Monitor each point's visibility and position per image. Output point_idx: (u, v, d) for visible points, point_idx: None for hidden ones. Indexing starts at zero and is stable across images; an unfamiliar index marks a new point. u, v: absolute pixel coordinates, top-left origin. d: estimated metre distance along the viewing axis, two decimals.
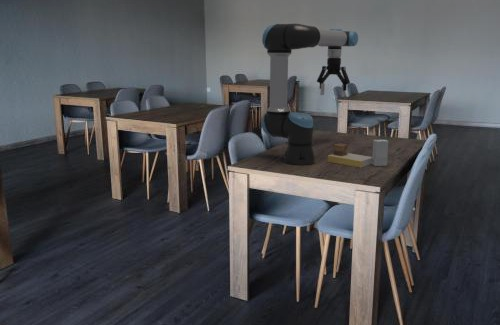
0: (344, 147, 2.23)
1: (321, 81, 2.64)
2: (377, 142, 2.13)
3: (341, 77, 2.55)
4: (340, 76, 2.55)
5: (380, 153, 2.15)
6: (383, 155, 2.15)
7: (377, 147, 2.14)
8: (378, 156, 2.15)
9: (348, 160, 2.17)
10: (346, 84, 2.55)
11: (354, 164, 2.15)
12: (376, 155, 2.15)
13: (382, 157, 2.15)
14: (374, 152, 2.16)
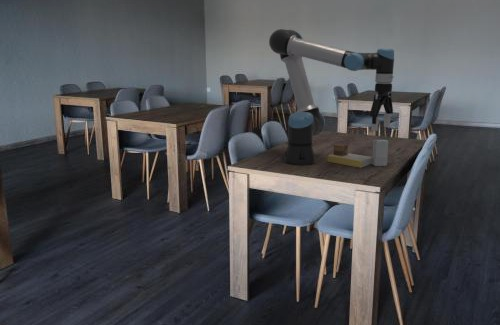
0: (344, 147, 2.23)
1: None
2: (377, 142, 2.13)
3: None
4: None
5: (380, 153, 2.15)
6: (383, 155, 2.15)
7: (377, 147, 2.14)
8: (378, 156, 2.15)
9: (348, 160, 2.17)
10: (374, 116, 2.08)
11: (354, 164, 2.15)
12: (376, 155, 2.15)
13: (382, 157, 2.15)
14: (374, 152, 2.16)
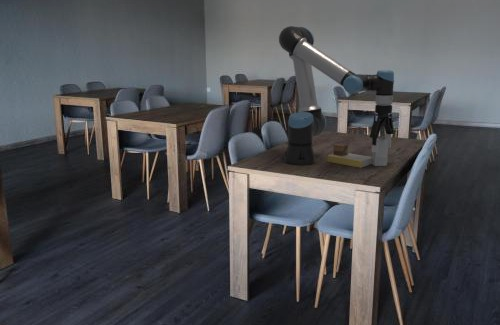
0: (344, 147, 2.23)
1: (386, 131, 2.20)
2: None
3: None
4: None
5: (380, 153, 2.15)
6: (383, 155, 2.15)
7: None
8: (378, 156, 2.15)
9: (348, 160, 2.17)
10: (373, 138, 2.08)
11: (354, 164, 2.15)
12: (376, 155, 2.15)
13: (382, 157, 2.15)
14: (374, 152, 2.16)
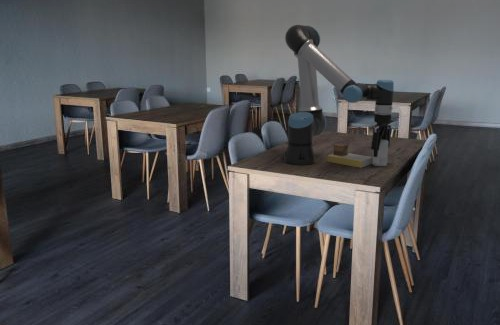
0: (344, 147, 2.23)
1: None
2: None
3: None
4: None
5: (380, 153, 2.15)
6: (383, 155, 2.15)
7: None
8: None
9: (348, 160, 2.17)
10: (375, 149, 2.12)
11: (354, 164, 2.15)
12: None
13: (382, 157, 2.15)
14: None
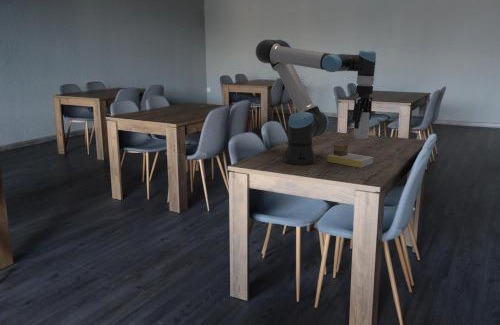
0: (344, 147, 2.23)
1: None
2: None
3: None
4: None
5: (361, 125, 2.14)
6: (364, 127, 2.15)
7: None
8: None
9: (348, 160, 2.17)
10: (356, 121, 2.11)
11: (354, 164, 2.15)
12: None
13: (363, 130, 2.15)
14: None
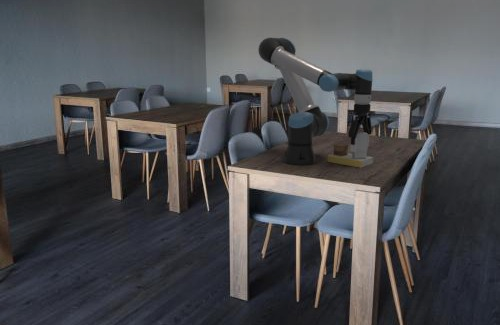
0: (344, 147, 2.23)
1: (364, 131, 2.22)
2: None
3: None
4: None
5: (359, 145, 2.16)
6: (362, 147, 2.16)
7: None
8: (357, 148, 2.16)
9: (348, 160, 2.17)
10: (352, 137, 2.11)
11: (354, 164, 2.15)
12: (356, 147, 2.16)
13: (362, 150, 2.17)
14: None
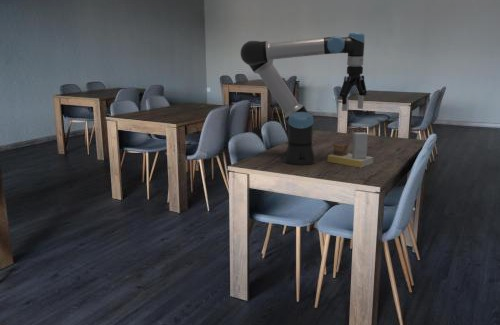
0: (344, 147, 2.23)
1: (359, 92, 2.31)
2: (356, 135, 2.15)
3: None
4: None
5: (359, 145, 2.16)
6: (362, 148, 2.16)
7: (356, 140, 2.15)
8: (357, 148, 2.16)
9: (348, 160, 2.17)
10: (343, 97, 2.20)
11: (354, 164, 2.15)
12: (356, 148, 2.16)
13: (362, 150, 2.17)
14: (353, 144, 2.18)
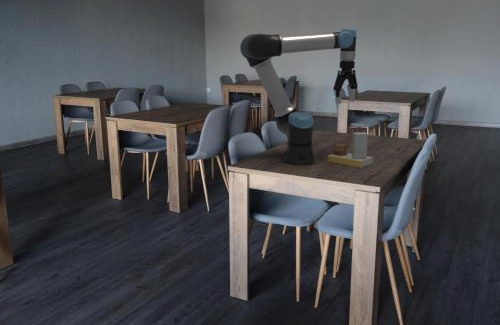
0: (344, 147, 2.23)
1: None
2: (356, 135, 2.15)
3: None
4: None
5: (359, 145, 2.16)
6: (363, 148, 2.16)
7: (356, 140, 2.15)
8: (357, 148, 2.16)
9: (348, 160, 2.17)
10: (337, 90, 2.30)
11: (354, 164, 2.15)
12: (356, 148, 2.16)
13: (362, 150, 2.17)
14: (353, 144, 2.18)
